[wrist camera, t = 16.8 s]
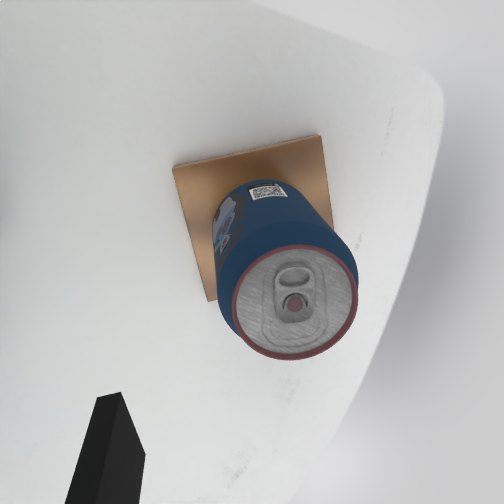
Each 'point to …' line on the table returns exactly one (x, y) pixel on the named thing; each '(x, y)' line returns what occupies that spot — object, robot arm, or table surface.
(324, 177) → the plate
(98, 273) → the table surface
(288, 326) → the soda can
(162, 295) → the table surface
